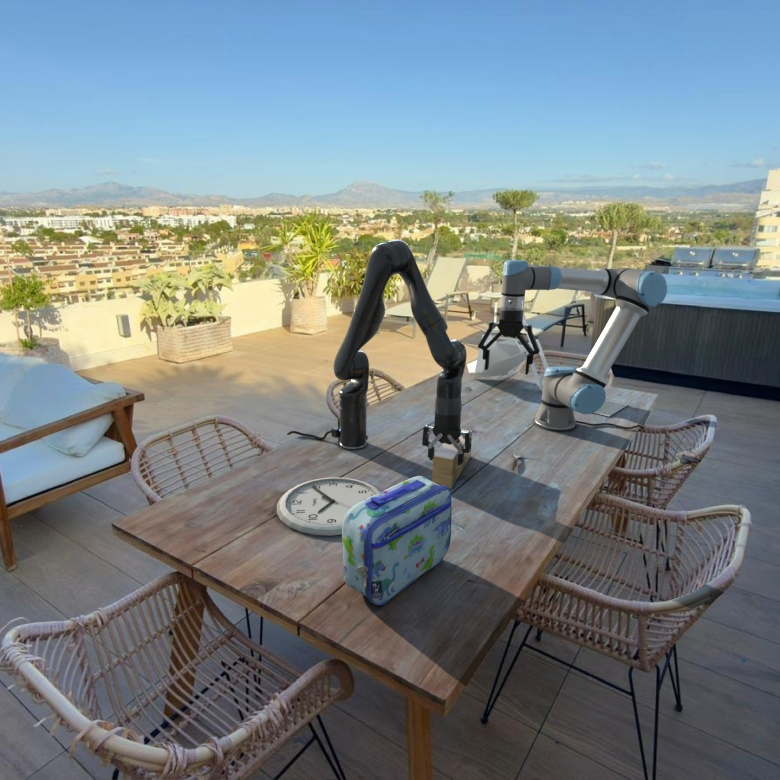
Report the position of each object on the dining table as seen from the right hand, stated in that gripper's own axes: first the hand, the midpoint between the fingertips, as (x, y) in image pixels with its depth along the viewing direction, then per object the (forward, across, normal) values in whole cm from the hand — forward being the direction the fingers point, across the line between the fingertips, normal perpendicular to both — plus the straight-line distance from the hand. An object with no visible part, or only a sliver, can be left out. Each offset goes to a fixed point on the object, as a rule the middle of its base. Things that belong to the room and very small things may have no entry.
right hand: (506, 371), depth 177 cm
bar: (+27, -10, -27) cm, 39 cm away
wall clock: (+27, -34, -62) cm, 75 cm away
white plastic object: (+27, -11, +74) cm, 80 cm away
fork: (+27, +8, -13) cm, 31 cm away
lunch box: (+27, -7, -83) cm, 88 cm away
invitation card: (+27, +33, +59) cm, 73 cm away
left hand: (+20, -10, -36) cm, 43 cm away
